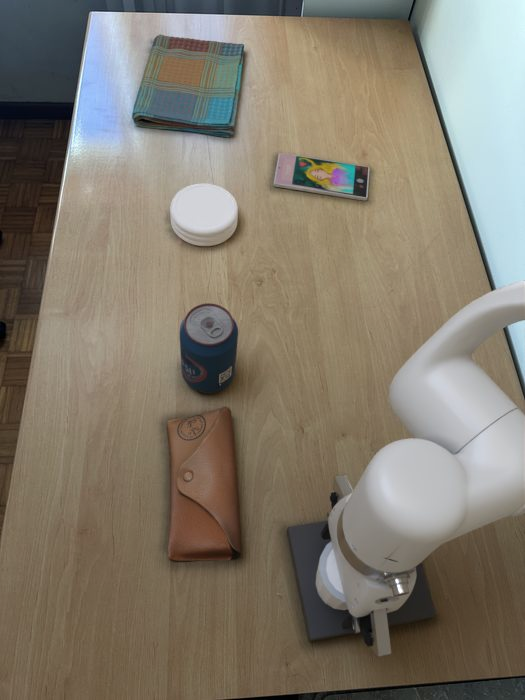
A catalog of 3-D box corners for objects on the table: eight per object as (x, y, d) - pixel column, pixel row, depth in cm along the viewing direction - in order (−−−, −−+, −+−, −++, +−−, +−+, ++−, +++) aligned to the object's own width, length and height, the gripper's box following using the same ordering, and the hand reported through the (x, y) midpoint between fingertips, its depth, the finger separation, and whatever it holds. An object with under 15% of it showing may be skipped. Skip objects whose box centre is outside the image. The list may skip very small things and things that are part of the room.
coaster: (160, 237, 98) (159, 220, 95) (184, 191, 103) (184, 174, 100) (224, 255, 97) (225, 239, 94) (245, 208, 102) (246, 192, 99)
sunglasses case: (162, 417, 83) (188, 394, 78) (210, 426, 86) (238, 405, 82) (166, 565, 73) (196, 549, 69) (220, 567, 77) (252, 552, 73)
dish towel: (130, 127, 110) (128, 115, 108) (153, 41, 122) (152, 29, 120) (233, 139, 110) (234, 127, 108) (246, 52, 122) (247, 39, 120)
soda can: (171, 369, 87) (166, 318, 77) (213, 342, 89) (214, 289, 79) (203, 407, 84) (203, 359, 74) (245, 377, 87) (251, 328, 77)
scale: (402, 510, 79) (409, 501, 76) (433, 618, 73) (443, 612, 70) (285, 529, 77) (289, 520, 74) (308, 642, 71) (312, 637, 68)
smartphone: (367, 198, 104) (273, 183, 104) (366, 201, 105) (272, 187, 105) (369, 166, 108) (278, 152, 108) (368, 170, 109) (278, 155, 109)
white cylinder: (301, 602, 71) (310, 589, 65) (319, 542, 75) (329, 524, 69) (363, 626, 70) (378, 614, 64) (378, 563, 74) (393, 547, 68)
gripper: (458, 633, 52) (402, 659, 67) (396, 431, 60) (358, 494, 75) (366, 651, 51) (330, 674, 65) (316, 443, 59) (294, 504, 74)
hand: (345, 577), depth 70 cm, fingers open, 8 cm apart
